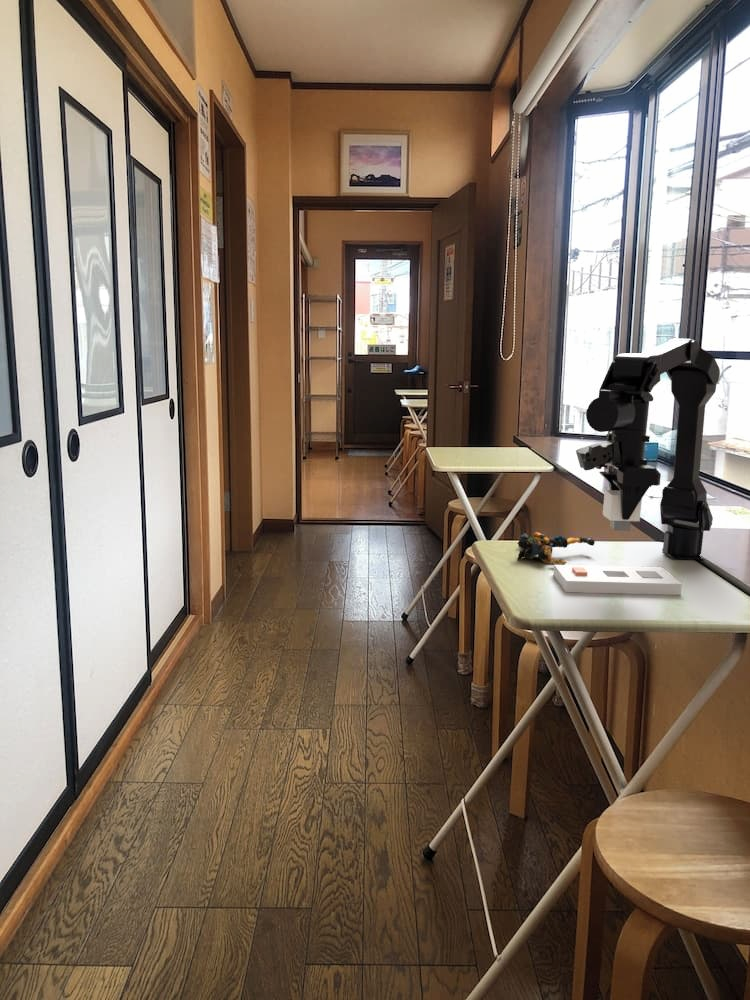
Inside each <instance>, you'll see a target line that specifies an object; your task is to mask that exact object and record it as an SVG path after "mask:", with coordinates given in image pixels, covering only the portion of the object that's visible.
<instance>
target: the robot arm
mask: <svg viewBox="0 0 750 1000" xmlns="http://www.w3.org/2000/svg"><path fill="white" fill-rule="evenodd" d="M664 373H666V374H667V377H668V378H669V380H670V384H671V385H670V387H671V394H672V396H673V398H674V399H675V401H676V403H677V405H678V413H677V414H678V416H677V427H676V428H677V429H676V437H675V438H676V440H675V453H674V465H673V466H674V467H673V478H672V479H671V480H670V482H669V483H668V484H667V485H666V486H664V487H663V488H662V493H661V494H662V497H661V500H660V502H659V503H660V505H659V507H660V509H659V510H660V523H661V524H660V525H667V530H666V531H664V536H663V546H662V548H661V549H662V550H661V551H662V552H663V553H664V554H666V555H667V556H668V557H670V558H671V559H673V560H674V559H676V560H702V559H701V557H700V556H699V555H700V554H701V555H702V548H703V539H704V532H709V531H711V528H712V525H713V519H714V518H713V515H712V512H711V509H710V506H709V503H708V502H707V501H708V500H707V497H708V495H707V494H708V493H707V490H706V488H705V486H704V483H703V482H702V480H701V479H700V471H701V461H702V460H701V459H702V449H703V439H704V437H703V436H704V427H705V426H704V425H705V414H706V413H705V412H706V404H707V403H708V402H709V401H710V399H711V398H712V397H713V396H714V394H715V393H716V390H717V384H718V383H719V380H720V377H721V375H720V374H721V370H720V366H719V365H718V363H717V361H716V359H715V357H714V356H713V354H710V353H709V352H708V351H706V350H705V349H704V348H702V347H701V346H700V344H699V342H698V340H694V339H693V338H671V339H668V340H667V341H666V342H665V343H663V344H660V345H658V346H655V347H654V348H651V349H649V350H647V351H645V352H641V353H638V352H637V353H634V352H633V353H618V354H617V355H616V356H615V357H614V359H613V361H612V362H611V363H610V366H609V367H608V369H607V372H606V374H605V377H604V379H603V381H602V383H601V385H600V387H599V391H598V397H596V398H594V399H593V400H591V402H590V403H589V405H588V407H587V409H586V411H585V415H586V416H585V417H586V418H585V419H586V421H587V423H588V425H589V426H590V428H591V429H593V430H594V431H596V432H598V433H604V432H607V433H606V436H605V437H606V438H605V440H604V441H600V442H596V443H593V444H590V445H587V446H584V447H580V448H578V449H576V450H575V452H576V453H575V454H576V456H577V459H578V463H579V467H580V468H581V469H583V470H584V471H591V470H593V469H596V470H601V469H602V468H603V471H599V472H598V473H599V474H600V475H601V476H602V477H603V479H605V481H607V483H608V487H609V490H618V491H620V498H621V513H622V519H623V520H628V519H629V518H630V517H631V515H632V513H633V512H634V510H635V508H636V507H637V505H638V503H639V502H640V500H641V499H642V500H643V498H644V495H646V493H647V491H648V490H649V488H651V487H652V486H655V487H656V486H660V485H661V477H662V476H661V473H660V471H659V470H658V469H657V468H655V467H653V466H651V465H650V464H648V459H646V458H645V449H646V443H649V442H650V435H647V427H648V419H649V418H648V417H649V409H650V408H649V407H650V402H653V401H654V396H653V394H651V392H652V391H653V389H654V387H655V386H656V385H657V384H658V383H659V382H660V381H661V375H662V374H664Z"/></svg>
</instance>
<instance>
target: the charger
mask: <svg viewBox="0 0 750 1000" xmlns="http://www.w3.org/2000/svg"><path fill="white" fill-rule="evenodd" d="M603 493H604V496H603V507H602V516H603V517H605V519H607V520H609V521H610V522H609V523H610V525H609V527H610V529H611V530H613V531H619V532H620V531H621V532H624V531H625V532H626V531H627V532H629V531H631V522H640V521H641V510H642V501H643V498H642V499H641V500H640V502H639V503H638V505H637V507H636V508H635V510H634V512H633V513H632V515H631V517H630V518H629V519H628V520H623V519H622V513H621V498H620V491H618V490H610V489H604V492H603Z"/></svg>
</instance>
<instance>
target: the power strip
mask: <svg viewBox="0 0 750 1000" xmlns="http://www.w3.org/2000/svg"><path fill="white" fill-rule="evenodd" d="M552 572H553V577H554V578H555V579H556V581H557V583H559V585H560V587H562V589H563V590H564V592H565V593H588V594H589V593H591V594H592V593H593V594H595V593H596V594H628V595H630V594H631V595H633V594H635V595H662V596H663V595H664V596H665V595H669V596H674V595H675V596H681V595H682V582H680V581H679V580H678V579H677V578H675V576H673V575H672V574H671V573H669V572H668V571H667V570H666V569H665V568H663V567H661V566H655V567H654V566H624V565H623V566H621V565H619V566H617V565H587V564H586V565H585V564H583V565H579V564H574V565H573V564H565V565H556V564H553V571H552Z"/></svg>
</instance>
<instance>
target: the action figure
mask: <svg viewBox="0 0 750 1000" xmlns="http://www.w3.org/2000/svg"><path fill="white" fill-rule="evenodd" d="M575 543H578V544H582V543H584V544H587V545H589V546H595V539H594V538H590V537H577V538H575V537H569V538H566V537H563V536H562V534H559V535H557V536H555V537H554V538H553V539H550V538H549V537H547V536H546V535H545V534H542V533H540V532H538V531H535V532H533V537H529V535H528V534H527V533H526V532H524V533H523V534H522V535H520V536H519V540H518V541H517V545H518V548H521V549H522V550H520V551H519V553H518V556H517V561H522V559H521V558H522V557H524V558H525V559H530V560H532V559H534V558H535V557H536V556H537V557H538V558H539V559H540V560H541V561H542V562H543V563H545V564H548V565H567V560H564V559H561V558H560V559H557V558H552V555H553V548H563V549H564V548H565V549H566V548H567V547H568V546H569V545H573V544H575Z"/></svg>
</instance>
